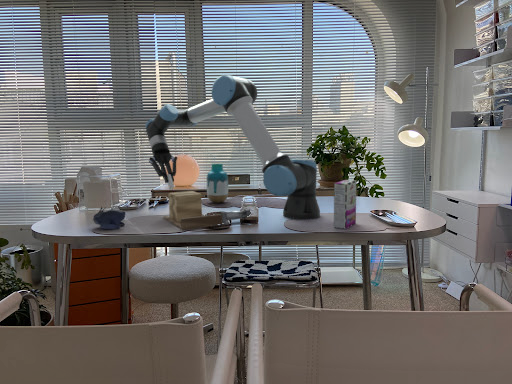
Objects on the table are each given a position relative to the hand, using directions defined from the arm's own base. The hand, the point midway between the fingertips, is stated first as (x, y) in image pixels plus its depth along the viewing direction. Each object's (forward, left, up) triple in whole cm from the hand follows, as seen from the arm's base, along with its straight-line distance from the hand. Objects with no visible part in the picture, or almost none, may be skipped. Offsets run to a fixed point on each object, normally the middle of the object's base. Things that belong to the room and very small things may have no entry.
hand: (171, 187), depth 171 cm
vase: (-1, -31, -11) cm, 33 cm away
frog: (+2, +32, -11) cm, 33 cm away
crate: (-14, +8, -10) cm, 19 cm away
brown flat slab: (-19, +11, -11) cm, 25 cm away
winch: (-35, +2, -11) cm, 37 cm away
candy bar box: (-72, -13, -11) cm, 74 cm away
